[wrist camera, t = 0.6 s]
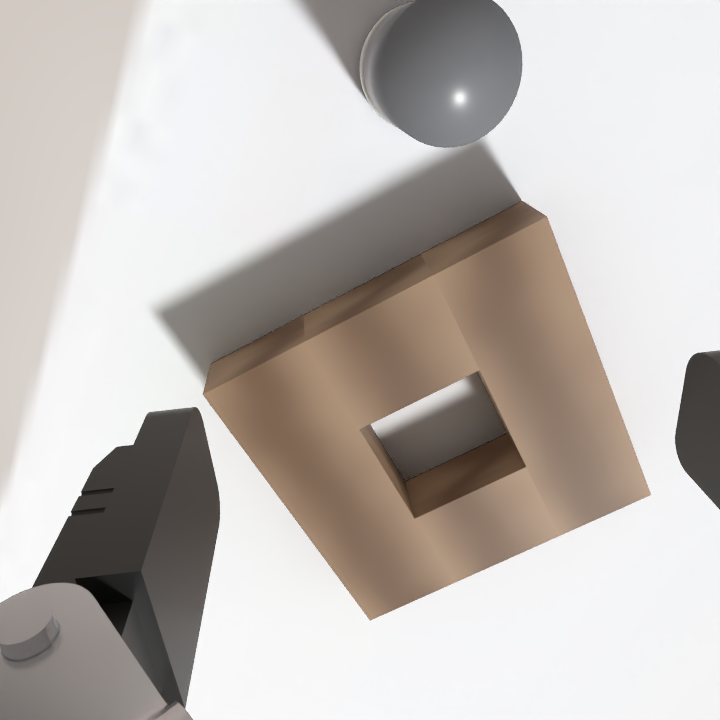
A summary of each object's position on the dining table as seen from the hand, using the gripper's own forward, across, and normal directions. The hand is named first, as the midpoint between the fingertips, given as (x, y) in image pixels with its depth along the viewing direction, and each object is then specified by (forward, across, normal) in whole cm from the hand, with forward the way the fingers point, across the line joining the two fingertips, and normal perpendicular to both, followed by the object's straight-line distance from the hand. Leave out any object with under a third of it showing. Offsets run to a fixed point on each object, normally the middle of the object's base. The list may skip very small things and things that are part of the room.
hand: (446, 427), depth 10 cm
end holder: (+18, -3, +11) cm, 22 cm away
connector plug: (+19, -3, -5) cm, 19 cm away
